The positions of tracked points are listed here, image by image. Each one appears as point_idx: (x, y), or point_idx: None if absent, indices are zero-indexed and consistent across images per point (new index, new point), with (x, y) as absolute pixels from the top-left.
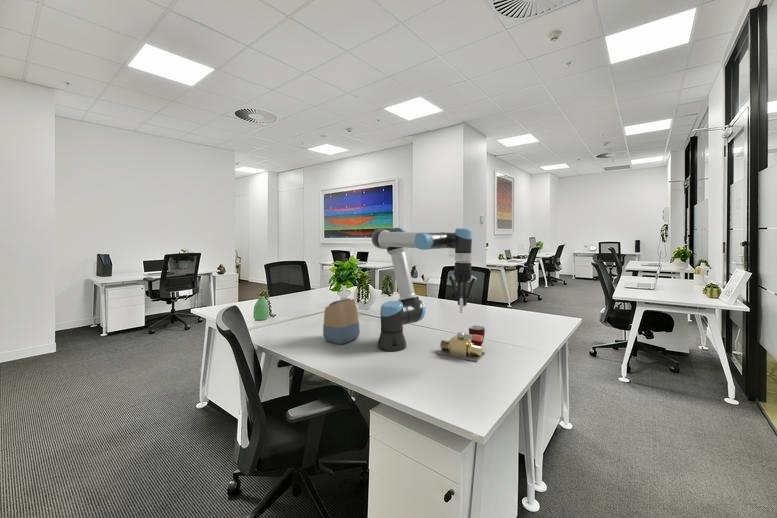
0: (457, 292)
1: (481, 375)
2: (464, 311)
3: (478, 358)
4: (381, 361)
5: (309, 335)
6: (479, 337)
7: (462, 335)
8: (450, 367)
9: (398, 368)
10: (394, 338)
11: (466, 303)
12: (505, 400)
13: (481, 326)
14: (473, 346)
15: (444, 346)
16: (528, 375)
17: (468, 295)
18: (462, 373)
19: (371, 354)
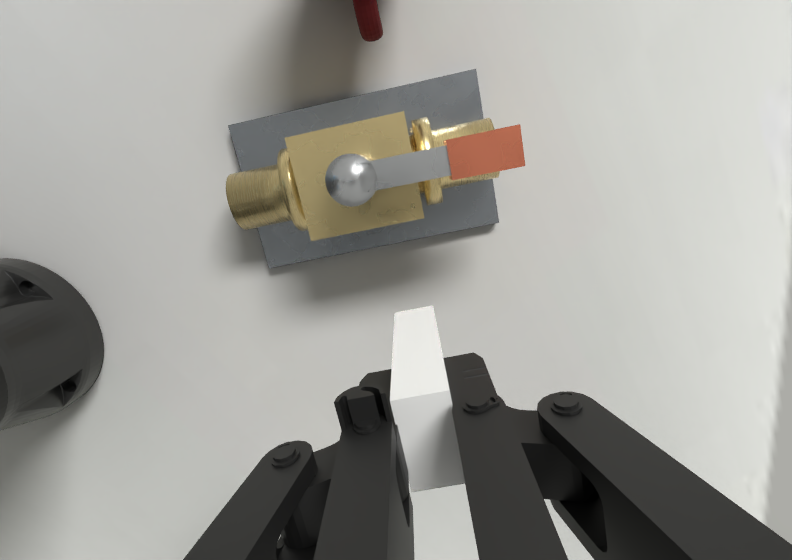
0: (293, 507)
1: (588, 350)
2: (433, 312)
3: (494, 194)
4: (163, 500)
5: None
6: (509, 168)
7: (374, 192)
8: None
9: None
10: (30, 401)
11: (486, 374)
12: (749, 478)
13: None
14: None
15: (274, 223)
16: (780, 205)
17: (602, 522)
18: (510, 385)
19: (61, 472)
